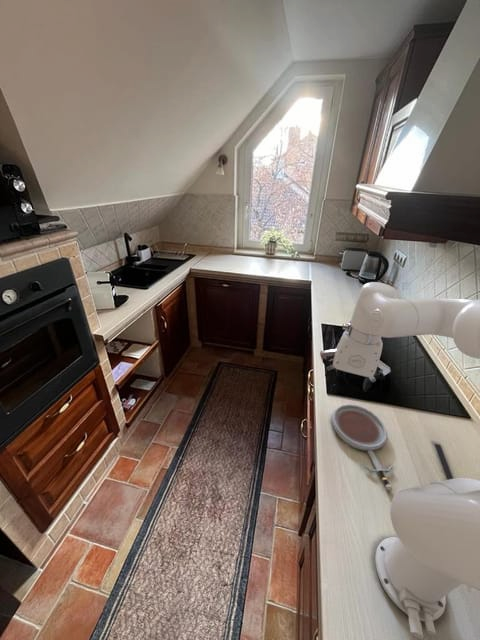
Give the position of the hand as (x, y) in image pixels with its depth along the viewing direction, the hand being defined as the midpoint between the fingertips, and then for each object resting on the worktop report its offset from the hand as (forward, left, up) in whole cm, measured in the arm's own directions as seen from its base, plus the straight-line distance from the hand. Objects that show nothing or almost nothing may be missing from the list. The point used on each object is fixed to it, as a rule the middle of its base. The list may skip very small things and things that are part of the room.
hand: (346, 383), depth 71 cm
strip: (+3, -33, -23) cm, 40 cm away
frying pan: (+1, -11, -23) cm, 25 cm away
